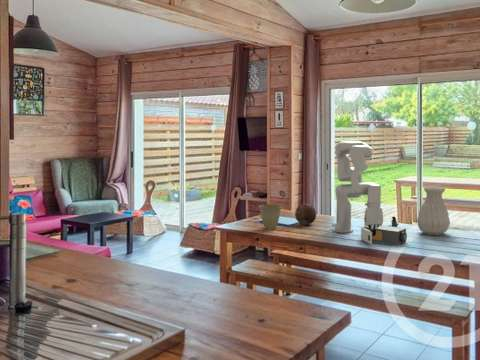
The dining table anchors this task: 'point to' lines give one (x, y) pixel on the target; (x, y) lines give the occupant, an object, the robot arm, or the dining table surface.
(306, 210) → the wooden sphere
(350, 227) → the robot arm
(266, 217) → the plant pot
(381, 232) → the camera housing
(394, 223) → the binoculars
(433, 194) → the vase
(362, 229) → the side door
